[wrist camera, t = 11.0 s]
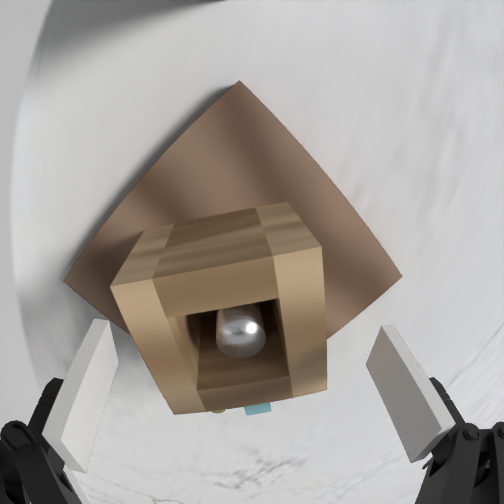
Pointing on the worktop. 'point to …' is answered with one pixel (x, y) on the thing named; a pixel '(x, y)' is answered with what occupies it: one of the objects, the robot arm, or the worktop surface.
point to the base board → (240, 206)
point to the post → (240, 330)
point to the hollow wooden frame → (224, 296)
